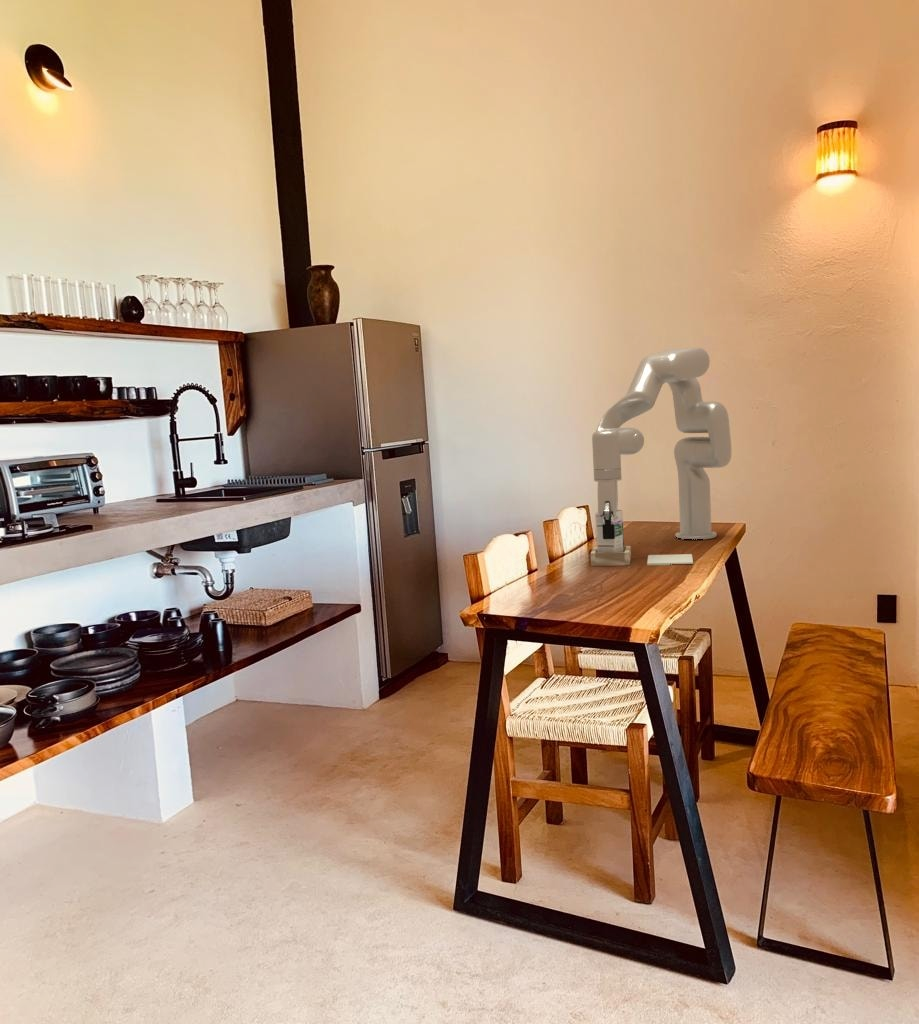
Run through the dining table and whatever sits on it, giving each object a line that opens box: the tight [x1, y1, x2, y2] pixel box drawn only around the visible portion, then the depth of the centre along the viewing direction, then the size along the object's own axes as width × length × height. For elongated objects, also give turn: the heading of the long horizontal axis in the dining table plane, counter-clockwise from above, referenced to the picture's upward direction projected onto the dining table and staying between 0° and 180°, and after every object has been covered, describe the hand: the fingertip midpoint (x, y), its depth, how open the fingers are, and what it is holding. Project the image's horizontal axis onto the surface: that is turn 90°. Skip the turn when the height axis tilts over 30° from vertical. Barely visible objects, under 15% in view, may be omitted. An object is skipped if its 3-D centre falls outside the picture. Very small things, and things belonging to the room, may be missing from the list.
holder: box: [590, 545, 632, 567], centre depth 239 cm, size 10×10×4 cm
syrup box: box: [594, 509, 625, 553], centre depth 239 cm, size 6×6×14 cm
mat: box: [646, 553, 694, 566], centre depth 236 cm, size 12×12×1 cm
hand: (610, 536), depth 239 cm, fingers open, 9 cm apart
